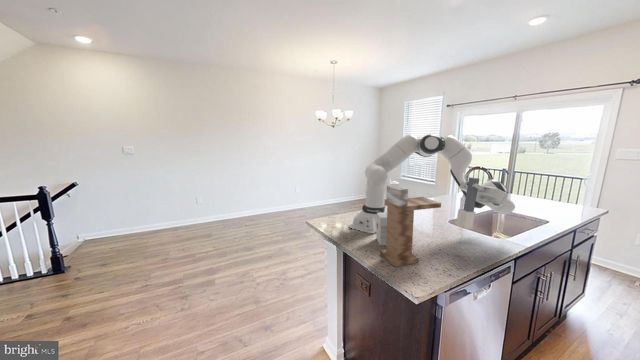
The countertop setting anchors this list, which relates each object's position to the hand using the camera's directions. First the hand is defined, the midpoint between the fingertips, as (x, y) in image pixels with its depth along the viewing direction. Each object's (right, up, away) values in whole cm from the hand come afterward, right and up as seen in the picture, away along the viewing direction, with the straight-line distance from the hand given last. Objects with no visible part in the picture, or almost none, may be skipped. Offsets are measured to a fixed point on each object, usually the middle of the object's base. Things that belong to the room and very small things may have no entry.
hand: (470, 183), depth 115 cm
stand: (-31, -33, -3) cm, 45 cm away
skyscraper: (-22, -26, +48) cm, 59 cm away
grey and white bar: (+2, -9, +2) cm, 10 cm away
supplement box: (-36, -31, +13) cm, 50 cm away
